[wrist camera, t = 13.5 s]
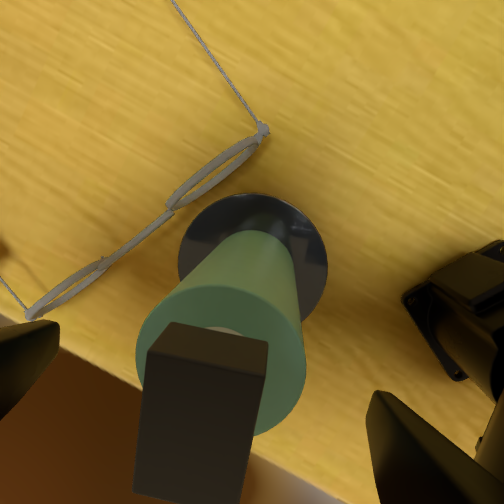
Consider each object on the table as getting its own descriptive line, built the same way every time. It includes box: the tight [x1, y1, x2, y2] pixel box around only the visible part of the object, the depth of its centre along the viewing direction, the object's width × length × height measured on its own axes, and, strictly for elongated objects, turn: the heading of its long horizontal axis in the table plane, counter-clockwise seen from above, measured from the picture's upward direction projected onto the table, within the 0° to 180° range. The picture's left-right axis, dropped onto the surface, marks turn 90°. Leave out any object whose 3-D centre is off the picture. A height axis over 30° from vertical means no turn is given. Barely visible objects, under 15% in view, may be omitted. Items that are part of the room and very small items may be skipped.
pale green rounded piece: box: [132, 230, 306, 504], centre depth 13 cm, size 12×5×12 cm
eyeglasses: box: [0, 0, 270, 322], centre depth 16 cm, size 18×19×4 cm
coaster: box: [178, 193, 328, 322], centre depth 19 cm, size 9×9×1 cm
